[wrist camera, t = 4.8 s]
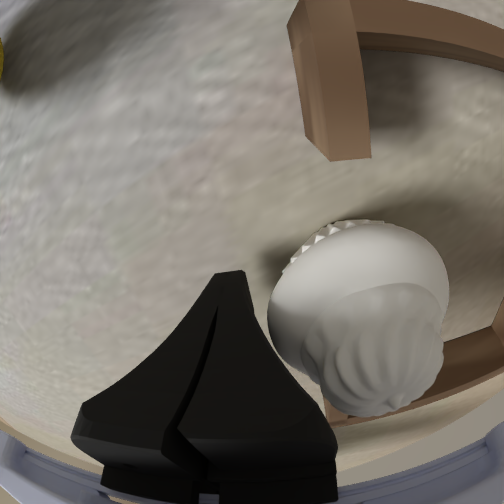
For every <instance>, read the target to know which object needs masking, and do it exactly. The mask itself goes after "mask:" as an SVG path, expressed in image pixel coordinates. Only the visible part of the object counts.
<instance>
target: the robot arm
mask: <svg viewBox="0 0 504 504" xmlns="http://www.w3.org/2000/svg"><path fill="white" fill-rule="evenodd" d="M71 440H72V442H73V444H74V445H75V446H76V447H77V448H79V449H80V450H81V451H83V452H84V453H86V454H87V455H89V456H91V457H92V458H94V459H95V460H97V461H99V462H100V463H102V464H103V465H104V469H103V474H102V475H99V474H96V473H93V472H90V471H86V470H83V469H80V468H77V467H74V466H72V465H68V464H66V463H64V462H61V461H58V460H56V459H53V458H51V457H49V456H46V455H44V454H42V453H39V452H37V451H35V450H33V449H30V448H28V447H26V445H25V444H23V443H22V442H21V441H19V440H17V439H16V438H15V437H13V436H11V435H10V434H8V433H6V432H4V431H2V430H0V486H1V487H2V488H3V489H5V490H6V491H7V492H8V493H9V494H10V495H12V496H13V497H14V498H15V499H16V500H17V501H18V502H19V503H21V504H121V503H118V502H115V501H112V500H110V498H109V497H108V495H109V496H112V497H116V498H120V499H123V500H127V501H131V502H135V503H140V504H502V503H503V502H504V421H503V422H501V423H500V424H498V425H497V426H496V427H494V428H493V429H492V430H491V431H490V432H488V433H487V435H486V436H485V437H484V438H482V439H480V440H478V441H476V442H474V443H472V444H470V445H468V446H466V447H464V448H462V449H459V450H457V451H455V452H453V453H450V454H448V455H446V456H443V457H441V458H438V459H436V460H433V461H431V462H428V463H425V464H423V465H420V466H417V467H414V468H412V469H408V470H405V471H402V472H399V473H395V474H392V475H389V476H385V477H382V478H378V479H374V480H370V481H365V482H361V483H357V484H352V485H347V486H342V487H337V479H336V473H337V470H336V462H335V458H336V454H337V450H338V444H337V440H336V437H335V435H334V432H333V430H332V428H331V427H330V425H329V423H328V421H327V419H326V418H325V416H324V414H323V413H322V411H321V409H320V408H319V406H318V404H317V403H316V402H315V401H314V400H313V398H312V397H311V396H310V395H309V394H308V393H307V392H306V391H305V390H304V389H303V388H302V387H301V386H300V384H299V383H298V382H297V381H296V380H295V378H294V377H293V376H292V375H291V374H290V372H289V371H288V369H287V368H286V367H285V365H284V364H283V363H282V361H281V360H280V359H279V357H278V356H277V354H276V353H275V351H274V350H273V348H272V347H271V345H270V343H269V342H268V340H267V338H266V336H265V335H264V333H263V331H262V329H261V327H260V325H259V323H258V321H257V319H256V317H255V315H254V307H253V303H252V299H251V295H250V291H249V286H248V282H247V278H246V274H245V272H244V271H242V270H237V271H230V272H223V273H215V274H214V276H213V277H212V278H211V280H210V281H209V283H208V284H207V286H206V287H205V289H204V290H203V292H202V293H201V295H200V296H199V298H198V299H197V300H196V302H195V303H194V305H193V306H192V307H191V309H190V310H189V312H188V313H187V314H186V316H185V317H184V318H183V319H182V321H181V322H180V323H179V324H178V326H177V327H176V328H175V329H174V331H173V332H172V333H171V334H170V335H169V336H168V337H167V339H166V340H165V341H164V342H163V343H162V344H161V345H160V346H159V347H158V348H157V349H156V350H155V351H154V352H153V353H152V354H150V355H149V356H148V357H147V358H146V359H145V360H144V361H143V362H141V363H140V364H139V365H138V366H137V367H136V368H135V369H133V370H132V371H131V372H129V373H128V374H127V375H126V376H124V377H123V378H122V379H120V380H119V381H117V382H116V383H115V384H113V385H112V386H110V387H109V388H107V389H106V390H104V391H102V392H101V393H99V394H97V395H96V396H94V397H92V398H91V399H89V400H87V401H85V402H83V403H82V406H81V408H80V411H79V414H78V416H77V419H76V422H75V425H74V428H73V431H72V434H71Z"/></svg>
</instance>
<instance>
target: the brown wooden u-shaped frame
mask: <svg viewBox="0 0 504 504" xmlns="http://www.w3.org/2000/svg"><path fill="white" fill-rule="evenodd" d="M287 29H288V34H289V39H290V44H291V49H292V54H293V60H294V65H295V71H296V77H297V82H298V88H299V95H300V101H301V107H302V114H303V121H304V128H305V136H306V137H307V138H308V139H309V140H310V141H311V142H312V143H313V144H314V145H315V146H316V147H317V148H318V149H319V150H320V151H321V152H322V154H323V155H324V156H325V157H326V158H327V159H328V160H329V161H330V162H331V161H341V160H352V159H363V158H371V145H370V130H369V118H368V107H367V98H366V89H365V81H364V74H363V67H362V61H361V54H360V49H365V50H386V51H399V52H409V53H417V54H425V55H432V56H438V57H444V58H450V59H455V60H460V61H464V62H469V63H473V64H477V65H481V66H485V67H489V68H492V69H496V70H499V71H502V72H504V29H501V28H499V27H497V26H494V25H492V24H489V23H487V22H484V21H481V20H478V19H476V18H473V17H470V16H467V15H464V14H461V13H457V12H454V11H450V10H447V9H443V8H439V7H435V6H431V5H427V4H422V3H418V2H413V1H407V0H299V1H298V3H297V5H296V7H295V9H294V11H293V13H292V15H291V17H290V19H289V21H288V23H287ZM443 344H444V345H443V351H442V353H443V356H444V359H443V364H442V367H441V369H440V371H439V373H438V374H437V376H436V379H435V382H434V383H433V385H432V386H431V387H430V388H429V389H427V390H426V391H425V392H424V394H423V395H422V396H421V397H420V398H418V399H416V400H413V401H411V403H410V404H409V405H408V406H404V407H401V408H399V409H398V410H396V411H394V412H387V413H386V414H384V415H381V416H371V417H358V416H353V415H347V414H344V413H342V412H340V411H338V410H337V409H336V408H334V407H333V406H332V405H331V404H330V403H329V401H328V400H327V399H326V398H325V397H324V395H323V399H324V406H325V412H326V419H327V421H328V423H329V425H330V427H331V428H336V427H341V426H347V425H352V424H357V423H361V422H366V421H370V420H374V419H379V418H383V417H386V416H390V415H394V414H397V413H401V412H404V411H408V410H411V409H414V408H418V407H421V406H424V405H427V404H430V403H433V402H435V401H438V400H441V399H444V398H446V397H449V396H452V395H454V394H457V393H459V392H462V391H464V390H466V389H469V388H471V387H473V386H476V385H478V384H480V383H482V382H484V381H487V380H489V379H491V378H493V377H495V376H497V375H499V374H501V373H503V372H504V299H503V301H502V303H501V306H500V308H499V310H498V313H497V315H496V317H495V319H494V321H493V323H492V326H490V327H488V328H485V329H482V330H480V331H477V332H474V333H471V334H469V335H466V336H463V337H460V338H457V339H454V340H451V341H448V342H445V343H443Z"/></svg>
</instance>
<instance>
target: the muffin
mask: <svg viewBox="0 0 504 504" xmlns="http://www.w3.org/2000/svg"><path fill="white" fill-rule="evenodd" d="M282 273H283V275H282V276H281V278H280V279H279V281H278V282H277V284H276V286H275V288H274V290H273V292H272V294H271V297H270V301H269V304H268V311H267V321H268V329H269V333H270V337H271V340H272V342H273V345H274V347H275V349H276V351H277V352H278V354H279V355H280V356H281V357H282V359H283V360H284V361H285V362H287V363H288V364H289V365H290V366H292V367H293V368H295V369H297V370H298V371H300V372H302V373H304V374H306V375H308V376H309V377H310V378H311V380H312V381H314V382H315V383H316V384H318V385H320V388H321V392H322V394H323V395H324V397H325V398H326V399H327V400H328V401H329V403H330V404H331V405H332V406H333V407H334V408H336V409H337V410H338V411H340V412H342V413H344V414H347V415H353V416H358V417H371V416H381V415H384V414H386V413H387V412H394V411H396V410H398V409H399V408H401V407H404V406H408V405H409V404H410V403H411V401H413V400H416V399H418V398H420V397H421V396H422V395H423V394H424V392H425V391H426V390H427V389H429V388H430V387H431V386H432V385H433V383H434V382H435V379H436V376H437V374H438V373H439V371H440V369H441V367H442V364H443V359H444V356H443V353H442V351H443V345H444V344H443V340H442V338H441V337H440V335H441V324H442V322H443V320H444V317H445V315H446V311H447V307H448V302H449V281H448V275H447V271H446V268H445V265H444V263H443V260H442V258H441V257H440V255H439V253H438V252H437V250H436V249H435V248H434V247H433V246H432V244H431V243H429V242H428V241H427V240H426V239H425V238H423V237H422V236H420V235H419V234H417V233H415V232H413V231H411V230H408V229H406V228H403V227H399V226H396V225H395V224H391V223H385V222H384V221H370V220H369V219H361V220H344V221H336V222H335V223H334V224H328V225H327V227H321V228H320V230H319V232H315V233H314V234H313V235H312V236H311V237H310V238H309V239H308V240H307V241H306V242H305V243H304V244H303V245H302V246H301V248H300V249H299V250H298V251H297V252H296V253H295V254H294V255H293V256H292V257H291V261H290V263H289V264H288V265H287V266H286V267H285V269H284V270H283V271H282Z"/></svg>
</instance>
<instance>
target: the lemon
mask: <svg viewBox="0 0 504 504" xmlns="http://www.w3.org/2000/svg"><path fill="white" fill-rule="evenodd" d="M3 63H4V51H3V46H2V42H1V38H0V80H1V76H2V71H3Z"/></svg>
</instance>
